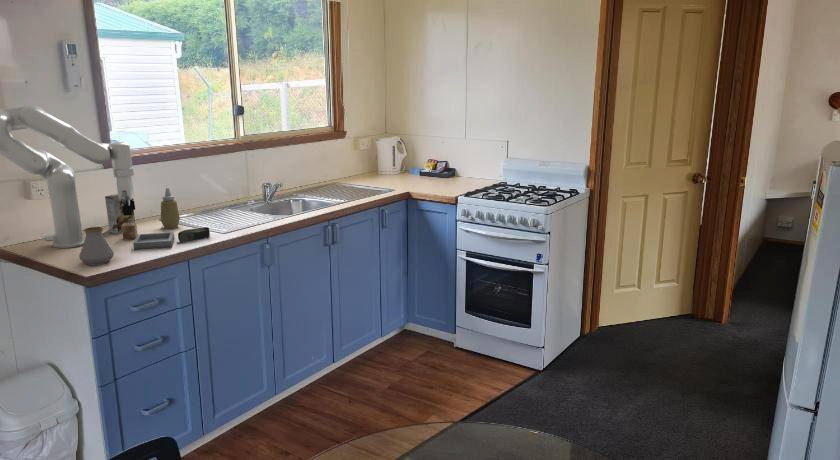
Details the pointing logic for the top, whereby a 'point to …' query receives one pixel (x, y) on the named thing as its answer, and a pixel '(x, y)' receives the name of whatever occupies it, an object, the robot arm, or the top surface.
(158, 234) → the tray
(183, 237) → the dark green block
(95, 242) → the coffee pot
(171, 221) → the squeeze bottle
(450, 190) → the top surface
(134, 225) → the walnut block
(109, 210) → the coffee box
